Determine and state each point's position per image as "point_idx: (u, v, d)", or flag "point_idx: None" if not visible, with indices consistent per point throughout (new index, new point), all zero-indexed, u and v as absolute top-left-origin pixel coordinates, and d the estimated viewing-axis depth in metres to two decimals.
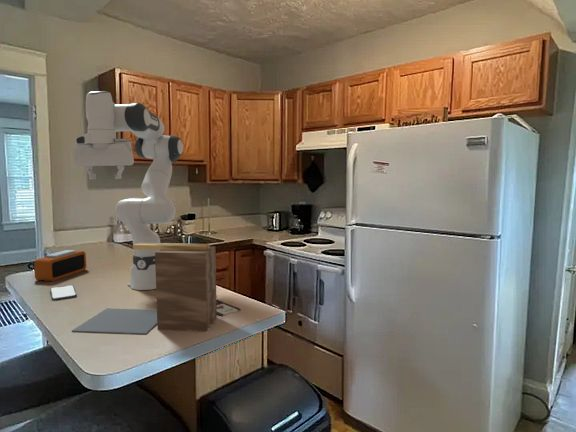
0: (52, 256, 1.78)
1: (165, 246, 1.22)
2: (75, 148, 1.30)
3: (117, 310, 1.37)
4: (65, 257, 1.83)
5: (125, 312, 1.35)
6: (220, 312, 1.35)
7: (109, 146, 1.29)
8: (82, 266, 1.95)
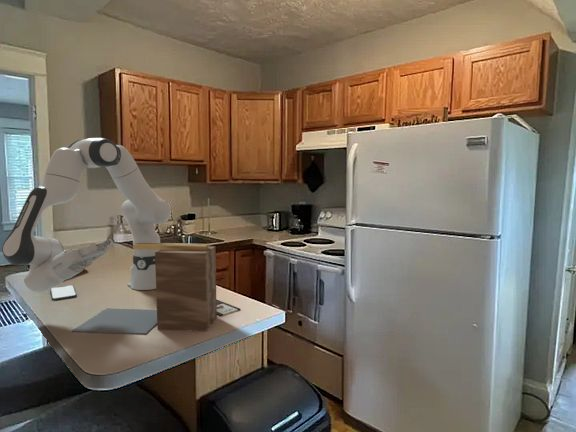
0: None
1: (165, 246, 1.22)
2: (96, 258, 1.36)
3: (117, 310, 1.37)
4: None
5: (125, 312, 1.35)
6: (220, 312, 1.35)
7: (72, 266, 1.24)
8: None
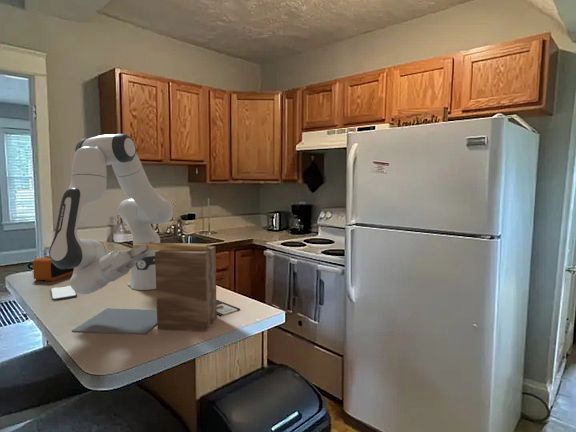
0: None
1: (165, 246, 1.22)
2: (139, 260, 1.34)
3: (117, 310, 1.37)
4: None
5: (125, 312, 1.35)
6: (220, 312, 1.35)
7: (120, 267, 1.23)
8: None
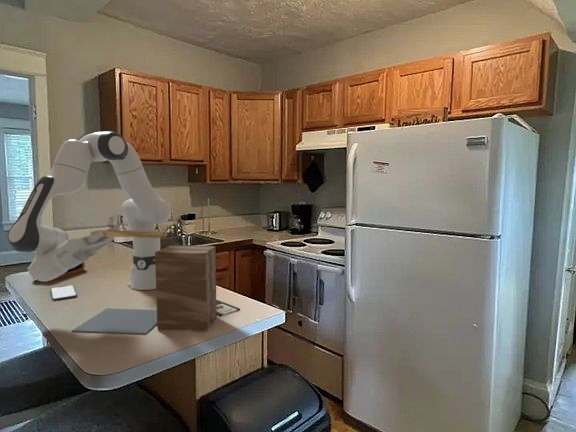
0: None
1: (122, 233, 1.23)
2: (100, 248, 1.35)
3: (117, 310, 1.37)
4: None
5: (125, 312, 1.35)
6: (220, 312, 1.35)
7: (77, 254, 1.23)
8: (80, 266, 1.95)
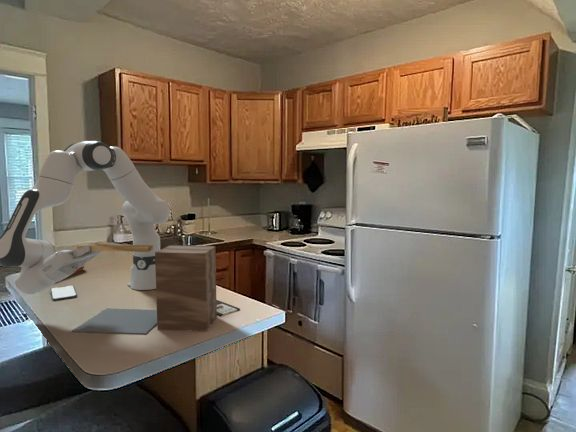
0: None
1: (108, 247, 1.23)
2: None
3: (117, 310, 1.37)
4: None
5: (125, 312, 1.35)
6: (220, 312, 1.35)
7: (63, 268, 1.24)
8: None
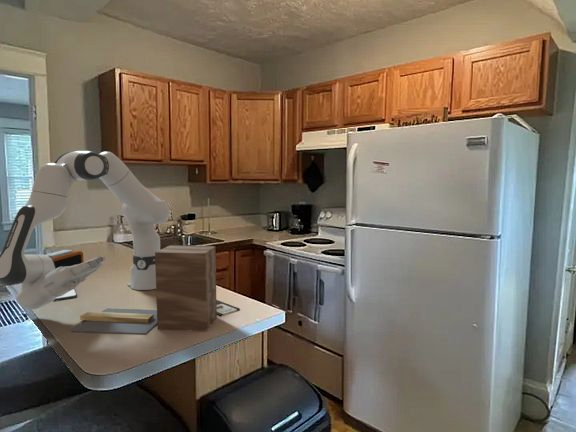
0: (49, 256, 1.79)
1: (110, 318, 1.26)
2: None
3: (117, 310, 1.37)
4: (62, 257, 1.83)
5: (125, 312, 1.35)
6: (220, 312, 1.35)
7: (65, 283, 1.25)
8: None
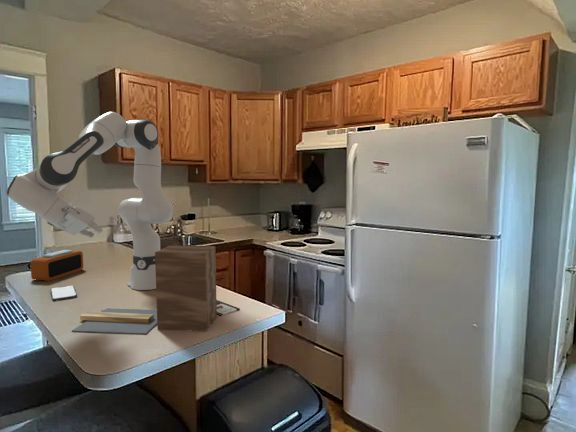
0: (48, 256, 1.79)
1: (110, 318, 1.26)
2: (58, 227, 1.34)
3: (117, 310, 1.37)
4: (62, 257, 1.83)
5: (125, 312, 1.35)
6: (219, 312, 1.35)
7: (66, 218, 1.25)
8: (79, 266, 1.95)
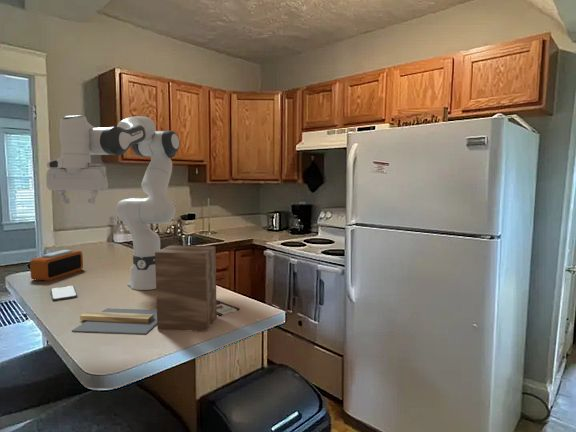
0: (48, 256, 1.79)
1: (110, 318, 1.26)
2: (48, 172, 1.28)
3: (117, 310, 1.37)
4: (61, 257, 1.83)
5: (125, 312, 1.35)
6: (219, 312, 1.35)
7: (83, 171, 1.28)
8: (79, 266, 1.95)
